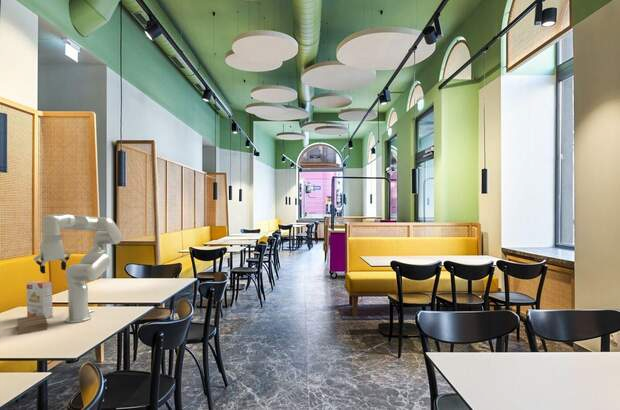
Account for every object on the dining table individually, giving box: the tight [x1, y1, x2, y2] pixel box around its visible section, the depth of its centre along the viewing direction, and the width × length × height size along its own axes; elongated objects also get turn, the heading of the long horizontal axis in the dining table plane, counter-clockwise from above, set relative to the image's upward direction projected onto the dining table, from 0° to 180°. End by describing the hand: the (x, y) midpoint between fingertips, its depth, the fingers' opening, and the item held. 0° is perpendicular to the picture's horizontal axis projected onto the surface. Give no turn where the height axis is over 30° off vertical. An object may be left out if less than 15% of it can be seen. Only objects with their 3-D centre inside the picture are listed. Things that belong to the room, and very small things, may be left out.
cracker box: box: [26, 280, 54, 320], centre depth 226 cm, size 14×6×21 cm, turn 68°
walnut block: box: [17, 315, 48, 335], centre depth 206 cm, size 18×12×4 cm, turn 38°
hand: (53, 271), depth 203 cm, fingers open, 9 cm apart
